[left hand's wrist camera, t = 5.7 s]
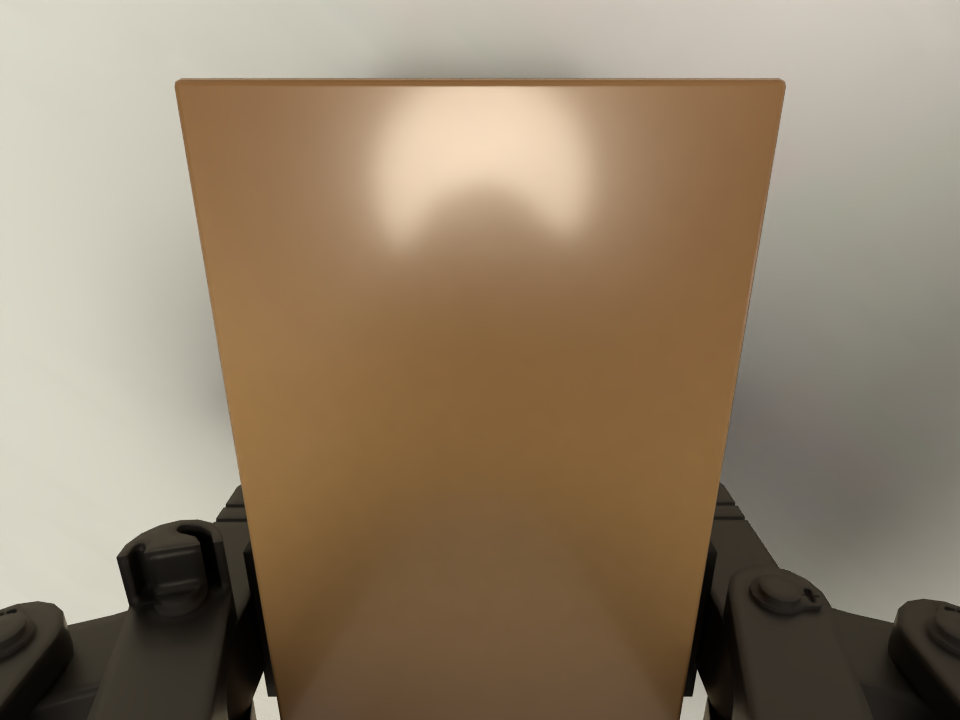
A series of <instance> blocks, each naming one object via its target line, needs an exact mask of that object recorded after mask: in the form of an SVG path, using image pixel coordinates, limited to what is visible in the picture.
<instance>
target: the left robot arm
mask: <svg viewBox="0 0 960 720" xmlns="http://www.w3.org/2000/svg"><path fill="white" fill-rule="evenodd" d="M116 558H117V562H118V565H119V569H120V573H121V576H122V580H123V584H124V588H125V591H126V595H127V599H128V602H129V609H128V611H125V612H122V613H118V614H115V615H111V616H107V617H103V618H98V619H94V620H89V621H85V622H81V623H76V624H72V625H68V626H67V623H66V620H65V616H64V613H63V611H62V610H61V609H59V608H58V607H57V606H56V605H55V604H52V603H46V602H39V601H36V602H29V603H22V604H16V605H13V606H10V607H7V608H4V609H1V610H0V720H256V714H255V708H254V702H253V696H254V694H255V691H256V689H257V686H258V684H259V681H260V679H261V676H262V674H263V671H264V676H265V682H266V687H267V693H268V697H277V695H276V689H275V683H274V677H273V671H272V665H271V659H270V653H269V647H268V641H267V635H266V629H265V623H264V617H263V611H262V606H261V600H260V594H259V588H258V582H257V576H256V570H255V564H254V558H253V552H252V546H251V540H250V534H249V528H248V522H247V516H246V510H245V504H244V498H243V492H242V486H241V485H240V486H238V487H237V488H236V490H235V491H234V493H233V494H232V496H231V497H230V499H229V500H228V502H227V503H226V508H223V509H222V511H221V512H220V514H219V515H218V517H217V518H216V522H214V523H210V522H206V521H202V520H179V521H175V522H171V523H167V524H163V525H159V526H157V527H155V528H153V529H150V530H148V531H146V532H144V533H142V534H140V535H139V536H137V537H136V538H135V539H133V540H132V541H130V542H129V543H128V544H126V545H125V547H124V548H123V549H122V551H121V552H120V553H119V555H118V556H117V557H116ZM697 670H698V672H699V675H700V677H701V680H702V682H703V685H704V687H705V690H706V692H707V695H708V697H707V702H706V708H705V713H704V718H703V720H960V607H959V606H956V605H953V604H950V603H947V602H943V601H935V600H928V599H920V600H913V601H907V602H906V603H905V604H904V605H903V606H901V607H900V608H899V609H898V612H897V615H896V618H895V621H894V623H891V622H886V621H882V620H877V619H873V618H869V617H864V616H860V615H855V614H851V613H847V612H844V611H841V610H837V609H834V608H831V605H830V604H829V602H828V601H827V599H826V598H825V596H824V595H823V593H822V592H821V591H820V590H819V589H818V588H816V587H815V586H814V585H813V584H811V583H810V582H809V581H808V580H806V579H804V578H802V577H800V576H798V575H796V574H794V573H792V572H790V571H788V570H784V569H780V568H779V567H778V565H777V564H776V562H775V561H774V559H773V558H772V557H771V555H770V554H769V552H768V551H767V549H766V548H765V546H764V545H763V543H762V542H761V540H760V539H759V537H758V536H757V534H756V533H755V531H754V530H753V528H752V527H751V525H750V524H749V522H748V521H747V520H745V516H744V515H743V513H742V512H741V511H740V509H739V508H738V506H735V502H734V500H733V499H732V497H731V496H730V494H729V493H728V491H727V490H726V488H725V487H724V485H722V484H721V483H720V482H719V488H718V494H717V500H716V506H715V512H714V518H713V524H712V530H711V536H710V541H709V547H708V553H707V559H706V565H705V571H704V577H703V583H702V589H701V595H700V601H699V607H698V613H697V619H696V625H695V631H694V637H693V643H692V649H691V655H690V661H689V667H688V673H687V679H686V685H685V691H684V697H692V695H693V690H694V684H695V678H696V673H697Z"/></svg>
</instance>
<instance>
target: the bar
mask: <svg viewBox="0 0 960 720" xmlns="http://www.w3.org/2000/svg"><path fill="white" fill-rule="evenodd" d="M785 88H786V86H785V81H783V80H781V79H779V78H181V79H179V80H177V81H176V82H175V92H176V98H177V104H178V110H179V116H180V122H181V128H182V134H183V140H184V146H185V152H186V158H187V164H188V170H189V175H190V181H191V187H192V193H193V199H194V205H195V211H196V217H197V223H198V229H199V235H200V241H201V247H202V253H203V259H204V265H205V271H206V277H207V283H208V289H209V295H210V301H211V307H212V313H213V319H214V325H215V331H216V337H217V343H218V349H219V355H220V361H221V367H222V373H223V379H224V385H225V390H226V396H227V402H228V408H229V414H230V420H231V426H232V432H233V438H234V444H235V450H236V456H237V462H238V468H239V474H240V480H241V486H242V492H243V498H244V504H245V510H246V516H247V522H248V528H249V534H250V540H251V546H252V552H253V558H254V564H255V570H256V576H257V582H258V588H259V594H260V600H261V606H262V611H263V617H264V623H265V629H266V635H267V641H268V647H269V653H270V659H271V665H272V671H273V677H274V683H275V689H276V695H277V701H278V707H279V713H280V719H281V720H680V714H681V709H682V703H683V697H684V691H685V685H686V679H687V673H688V667H689V661H690V655H691V649H692V643H693V637H694V631H695V625H696V619H697V613H698V607H699V601H700V595H701V589H702V583H703V577H704V571H705V565H706V559H707V553H708V547H709V541H710V536H711V530H712V524H713V518H714V512H715V506H716V500H717V494H718V488H719V482H720V476H721V470H722V464H723V458H724V452H725V446H726V440H727V434H728V428H729V422H730V416H731V410H732V404H733V398H734V392H735V386H736V380H737V374H738V368H739V362H740V357H741V351H742V345H743V339H744V333H745V327H746V321H747V315H748V309H749V303H750V297H751V291H752V285H753V279H754V273H755V267H756V261H757V255H758V249H759V243H760V237H761V231H762V225H763V219H764V213H765V207H766V201H767V195H768V189H769V184H770V178H771V172H772V166H773V160H774V154H775V148H776V142H777V136H778V130H779V124H780V118H781V112H782V106H783V100H784V94H785Z"/></svg>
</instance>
